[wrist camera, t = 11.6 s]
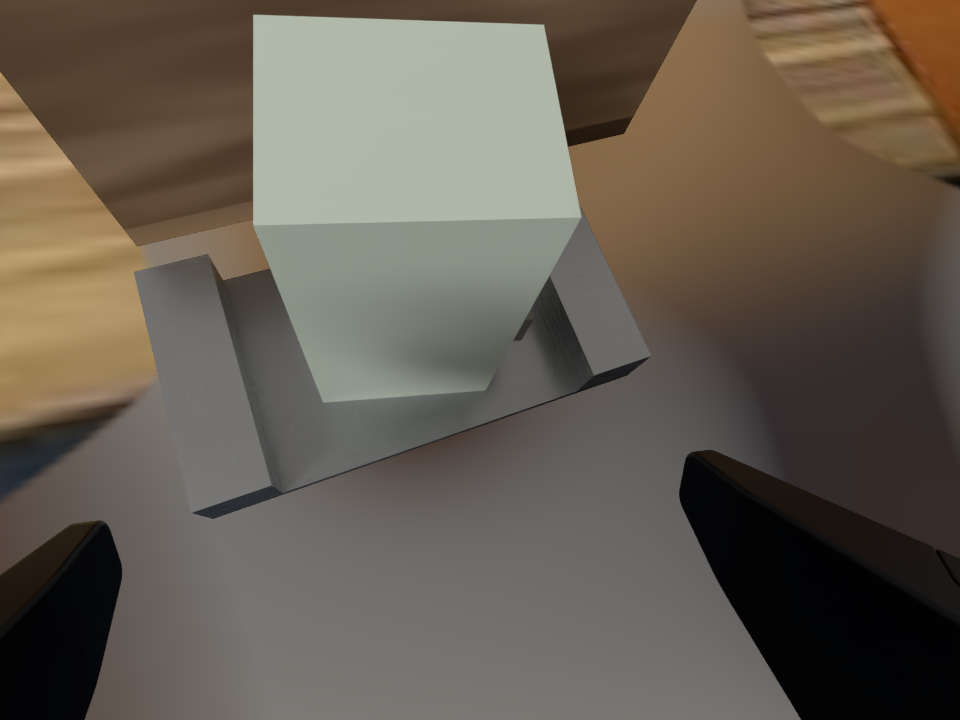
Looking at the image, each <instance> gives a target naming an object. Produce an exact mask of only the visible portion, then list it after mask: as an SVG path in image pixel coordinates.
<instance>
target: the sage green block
mask: <svg viewBox="0 0 960 720" xmlns="http://www.w3.org/2000/svg"><path fill="white" fill-rule="evenodd" d="M581 218H582V217H581V212H580V207H579V202H578V197H577V192H576V187H575V182H574V176H573V172H572V166H571V161H570V156H569V151H568V146H567V141H566V135H565V130H564V125H563V120H562V115H561V110H560V105H559V100H558V95H557V89H556V84H555V79H554V74H553V69H552V64H551V59H550V54H549V48H548V43H547V38H546V33H545V28H544V25H536V24H508V23H479V22H450V21H421V20H392V19H364V18H335V17H306V16H277V15H253V226H254V229H255V231H256V234H257V236H258V239H259V241H260V244H261V246H262V249H263V252H264V254H265V257H266V259H267V261H268V264H269V267H270V269H271V272H272V274H273V277H274V279H275V282H276V284H277V287H278V290H279V292H280V295H281V297H282V300H283V302H284V305H285V307H286V310H287V312H288V315H289V317H290V320H291V322H292V325H293V328H294V330H295V333H296V335H297V338H298V340H299V343H300V345H301V348H302V350H303V353H304V355H305V358H306V360H307V363H308V366H309V368H310V371H311V373H312V376H313V378H314V381H315V383H316V386H317V388H318V391H319V393H320V396H321V398H322V401H323V403H325V402H338V401H351V400H365V399H378V398H391V397H405V396H418V395H431V394H445V393H458V392H471V391H484V390H486V389H487V387H488V385H489V383H490V381H491V380H492V378H493V376H494V374H495V372H496V371H497V369H498V367H499V365H500V363H501V362H502V360H503V358H504V356H505V354H506V353H507V351H508V349H509V347H510V345H511V344H512V342H513V341H521V340H522V338H523V337H524V335H525V333H526V332H527V330H528V328H529V326H530V325H531V323H532V321H533V320H534V318H533V311H532V306H533V304H534V302H535V300H536V299H537V297H538V295H539V293H540V291H541V290H542V288H543V286H544V284H545V282H546V281H547V279H548V277H549V275H550V273H551V272H552V270H553V268H554V266H555V264H556V263H557V261H558V259H559V257H560V255H561V254H562V252H563V250H564V248H565V246H566V245H567V243H568V241H569V239H570V237H571V236H572V234H573V232H574V230H575V228H576V227H577V225H578V223H579V221H580V219H581Z"/></svg>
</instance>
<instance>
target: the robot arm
mask: <svg viewBox="0 0 960 720" xmlns="http://www.w3.org/2000/svg"><path fill="white" fill-rule="evenodd" d="M679 497H680V502H681V505H682V508H683V510H684V512H685V514H686V516H687V518H688V520H689V523H690V525H691V527H692V529H693V531H694V533H695V535H696V537H697V539H698V541H699V544H700V546H701V548H702V550H703V552H704V554H705V556H706V558H707V561H708V563H709V564H710V567H711V569H712V571H713V573H714V575H715V577H716V579H717V581H718V583H719V584H720V586H721V588H722V590H723V591H724V593H725V595H726V596H727V598H728V599H729V602H730V603H731V605H732V607H733V608H734V610H735V611H736V613H737V615H738V616H739V618H740V620H741V621H742V623H743V625H744V626H745V628H746V629H747V631H748V633H749V634H750V636H751V638H752V639H753V641H754V643H755V644H756V646H757V648H758V649H759V651H760V653H761V654H762V656H763V658H764V659H765V661H766V662H767V664H768V666H769V667H770V669H771V671H772V672H773V674H774V676H775V677H776V679H777V681H778V682H779V684H780V685H781V687H782V689H783V690H784V692H785V694H786V695H787V697H788V699H789V700H790V702H791V703H792V705H793V707H794V709H795V710H796V712H797V713H798V715H799V717H800V718H801V720H960V559H959V558H957V557H955V556H953V555H950V554H948V553H946V552H944V551H941V550H934V548H933V547H932V546H930V545H928V544H925V543H923V542H921V541H918V540H916V539H914V538H911V537H909V536H907V535H905V534H902V533H900V532H898V531H896V530H893V529H891V528H889V527H886V526H884V525H882V524H879V523H877V522H875V521H873V520H871V519H868V518H866V517H864V516H862V515H859V514H857V513H855V512H852V511H850V510H848V509H846V508H843V507H841V506H839V505H836V504H834V503H832V502H830V501H827V500H825V499H823V498H821V497H818V496H816V495H814V494H812V493H809V492H807V491H805V490H803V489H800V488H798V487H796V486H793V485H791V484H789V483H787V482H784V481H782V480H780V479H778V478H775V477H773V476H771V475H768V474H766V473H764V472H762V471H759V470H757V469H755V468H752V467H750V466H748V465H745V464H743V463H741V462H739V461H737V460H734V459H732V458H730V457H728V456H725V455H723V454H721V453H718V452H716V451H713V450H705V451H696V452H691V453H690V454H688V456H687V457H686V460H685V464H684V469H683V475H682V480H681V485H680V491H679ZM121 580H122V565H121V561H120V558H119V555H118V552H117V549H116V546H115V543H114V540H113V537H112V534H111V531H110V528H109V526H108V525H107V524H106V523H105V522H103V521H91V522H83V523H75V524H72V525H70V526H68V527H66V528H65V529H64V530H62V531H61V532H59V533H58V534H57V535H55V536H54V537H52V538H51V539H50V540H48V541H47V542H46V543H44V544H43V545H42V546H40V547H39V548H37V549H36V550H34V551H33V552H31V553H30V554H29V555H27V556H26V557H25V558H23V559H22V560H21V561H19V562H18V563H16V564H15V565H13V566H12V567H11V568H9V569H8V570H6V571H5V572H4V573H2V574H1V575H0V720H85V717H86V714H87V711H88V708H89V706H90V703H91V700H92V697H93V694H94V691H95V688H96V685H97V681H98V677H99V673H100V670H101V666H102V661H103V657H104V653H105V649H106V644H107V640H108V635H109V631H110V627H111V623H112V619H113V614H114V610H115V606H116V602H117V597H118V593H119V589H120V585H121Z"/></svg>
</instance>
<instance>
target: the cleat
mask: <svg viewBox="0 0 960 720" xmlns="http://www.w3.org/2000/svg"><path fill="white" fill-rule="evenodd" d="M579 207H580V205H579ZM580 212H581V217H582V218H581V219H580V221H579V223H578V225H577V227H576V228H575V230H574V232H573V234H572V236H571V237H570V239H569V241H568V243H567V245H566V246H565V248H564V250H563V252H562V254H561V255H560V257H559V259H558V261H557V263H556V264H555V266H554V268H553V270H552V272H551V273H550V275H549V277H548V279H547V281H546V282H545V284H544V286H543V288H542V290H541V291H540V293H539V295H538V297H537V299H536V300H535V302H534V304H533V306H532V311H533V318H534V320H533V321H532V323H531V325H530V326H529V328H528V330H527V332H526V333H525V335H524V337H523V338H522V340H521V341H513V342H512V344H511V345H510V347H509V349H508V351H507V353H506V354H505V356H504V358H503V360H502V362H501V363H500V365H499V367H498V369H497V371H496V372H495V374H494V376H493V378H492V380H491V381H490V383H489V385H488V387H487V389H486V390H484V391H471V392H458V393H445V394H431V395H418V396H405V397H391V398H378V399H365V400H351V401H338V402H325V403H323V401H322V398H321V396H320V393H319V391H318V388H317V386H316V383H315V381H314V378H313V376H312V373H311V371H310V368H309V366H308V363H307V360H306V358H305V355H304V353H303V350H302V348H301V345H300V343H299V340H298V338H297V335H296V333H295V330H294V328H293V325H292V322H291V320H290V317H289V315H288V312H287V310H286V307H285V305H284V302H283V300H282V297H281V295H280V292H279V290H278V287H277V284H276V282H275V279H274V277H273V274H272V272H271V269H267V270H263V271H259V272H255V273H252V274H247V275H244V276H239V277H235V278H231V279H227V280H224V281H223V280H222V278H221V276H220V274H219V273H218V271H217V269H216V268H215V266H214V264H213V262H212V261H211V259H210V257H209V255H208V254H207V255H202V256H198V257H194V258H190V259H186V260H182V261H178V262H173V263H169V264H165V265H161V266H157V267H153V268H148V269H144V270H140V271H136V272H134V274H135V278H136V283H137V287H138V291H139V295H140V300H141V304H142V308H143V312H144V316H145V321H146V325H147V329H148V333H149V338H150V342H151V346H152V350H153V354H154V359H155V363H156V367H157V371H158V376H159V380H160V384H161V388H162V392H163V396H164V401H165V405H166V409H167V414H168V418H169V422H170V426H171V431H172V435H173V439H174V443H175V447H176V451H177V456H178V460H179V464H180V468H181V472H182V476H183V481H184V485H185V490H186V494H187V498H188V502H189V506H190V511H191V513H193V514H197V515H200V516H204V517H208V518H211V519H214V518H217V517H220V516H223V515H226V514H228V513H231V512H234V511H237V510H240V509H243V508H246V507H249V506H251V505H254V504H257V503H260V502H263V501H266V500H269V499H272V498H275V497H278V496H280V495H283V494H286V493H289V492H292V491H295V490H298V489H300V488H303V487H306V486H309V485H312V484H315V483H318V482H321V481H323V480H326V479H329V478H332V477H335V476H338V475H341V474H344V473H347V472H350V471H352V470H355V469H358V468H361V467H364V466H367V465H370V464H373V463H376V462H379V461H381V460H384V459H387V458H390V457H393V456H396V455H399V454H401V453H405V452H407V451H410V450H413V449H416V448H419V447H422V446H425V445H428V444H430V443H433V442H436V441H439V440H442V439H445V438H448V437H451V436H454V435H456V434H459V433H462V432H465V431H468V430H471V429H474V428H477V427H479V426H482V425H485V424H488V423H491V422H494V421H497V420H500V419H503V418H506V417H508V416H511V415H514V414H517V413H520V412H523V411H526V410H529V409H531V408H534V407H537V406H540V405H543V404H546V403H548V402H552V401H555V400H557V399H560V398H563V397H566V396H569V395H572V394H575V393H578V392H581V391H583V390H586V389H589V388H592V387H595V386H598V385H601V384H603V383H606V382H609V381H612V380H615V379H618V378H621V377H623V376H627V375H628V374H629V373H630V372H632V371H633V370H634V369H636V368H637V367H638V366H639V365H641V364H642V363H643V362H644V361H646V360H647V359H648V358H649V357H651V354H650V352H649V350H648V348H647V346H646V343H645V341H644V339H643V337H642V335H641V333H640V331H639V328H638V326H637V324H636V322H635V320H634V318H633V316H632V314H631V312H630V310H629V307H628V305H627V303H626V301H625V299H624V297H623V295H622V293H621V291H620V289H619V286H618V285H617V282H616V280H615V279H614V276H613V274H612V272H611V270H610V268H609V265H608V264H607V261H606V259H605V257H604V255H603V253H602V251H601V249H600V247H599V245H598V243H597V240H596V238H595V236H594V234H593V232H592V230H591V228H590V226H589V223H588V221H587V219H586V217H585V215H584V213H583V211H582V209H581V207H580Z"/></svg>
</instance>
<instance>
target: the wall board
mask: <svg viewBox="0 0 960 720" xmlns="http://www.w3.org/2000/svg"><path fill="white" fill-rule="evenodd" d="M696 1H697V0H0V72H1V73H2V74H3V76H4V77H5V78H6V80H7V81H8V82H9V83H10V85H11V86H12V87H13V88H14V90H15V91H16V92H17V94H18V95H19V96H20V97H21V99H22V100H23V101H24V102H25V104H26V105H27V106H28V108H29V109H30V110H31V111H32V113H33V114H34V115H35V117H36V118H37V119H38V120H39V122H40V123H41V124H42V125H43V127H44V128H45V129H46V131H47V132H48V133H49V134H50V136H51V137H52V138H53V140H54V141H55V142H56V143H57V145H58V146H59V147H60V148H61V150H62V151H63V152H64V154H65V155H66V156H67V157H68V159H69V160H70V161H71V163H72V164H73V165H74V166H75V168H76V169H77V170H78V171H79V173H80V174H81V175H82V177H83V178H84V179H85V180H86V182H87V183H88V184H89V185H90V187H91V188H92V189H93V191H94V192H95V193H96V194H97V196H98V197H99V198H100V200H101V201H102V202H103V203H104V205H105V206H106V207H107V208H108V210H109V211H110V212H111V214H112V215H113V216H114V217H115V219H116V220H117V221H118V223H119V224H120V225H121V226H122V228H123V229H124V230H125V231H126V233H127V234H128V235H129V237H130V238H131V239H132V240H133V242H134V243H135V244H136V245H137V246H141V245H145V244H149V243H154V242H158V241H162V240H167V239H171V238H175V237H180V236H184V235H188V234H192V233H197V232H201V231H206V230H210V229H214V228H218V227H222V226H227V225H232V224H235V223H240V222H244V221H249V220H253V15H277V16H306V17H335V18H364V19H392V20H421V21H450V22H479V23H508V24H536V25H544V28H545V33H546V38H547V43H548V48H549V54H550V59H551V64H552V69H553V74H554V79H555V84H556V89H557V95H558V100H559V105H560V110H561V115H562V120H563V125H564V130H565V135H566V141H567V146H573V145H577V144H581V143H586V142H590V141H595V140H599V139H603V138H608V137H612V136H616V135H620V134H624V133H625V131H626V128H627V127H628V125H629V123H630V122H631V120H632V118H633V116H634V114H635V112H636V111H637V109H638V107H639V105H640V103H641V101H642V99H643V98H644V96H645V94H646V92H647V90H648V89H649V87H650V85H651V83H652V81H653V79H654V78H655V76H656V74H657V72H658V70H659V69H660V67H661V65H662V63H663V61H664V59H665V57H666V56H667V54H668V52H669V50H670V48H671V46H672V45H673V43H674V41H675V39H676V37H677V36H678V33H679V32H680V30H681V28H682V26H683V24H684V23H685V21H686V19H687V17H688V15H689V13H690V12H691V10H692V8H693V6H694V4H695V3H696Z"/></svg>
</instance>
